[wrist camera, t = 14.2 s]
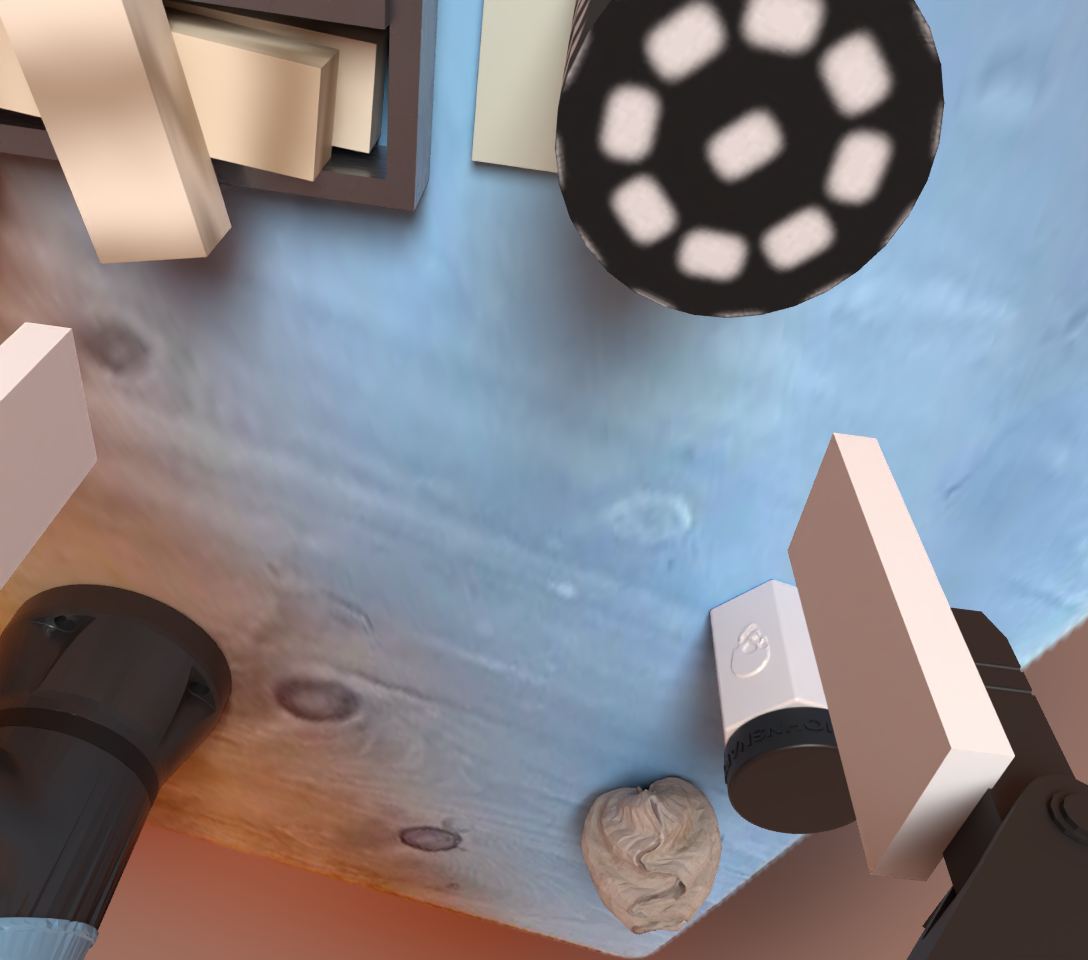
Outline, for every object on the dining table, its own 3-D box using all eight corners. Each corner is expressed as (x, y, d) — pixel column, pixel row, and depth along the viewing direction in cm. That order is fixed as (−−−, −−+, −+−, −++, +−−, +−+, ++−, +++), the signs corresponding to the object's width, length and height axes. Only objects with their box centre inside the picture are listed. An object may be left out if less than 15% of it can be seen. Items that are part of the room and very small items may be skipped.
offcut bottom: (390, 27, 39) (376, 44, 37) (382, 131, 42) (369, 153, 39) (-44, -66, 38) (-88, -55, 36) (-23, 47, 41) (-63, 64, 38)
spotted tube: (728, -197, 33) (840, -180, 17) (831, 15, 36) (1001, 195, 20) (538, -43, 36) (479, 94, 20) (650, 137, 40) (676, 374, 24)
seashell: (755, 759, 67) (774, 890, 59) (664, 858, 76) (670, 985, 68) (627, 719, 65) (629, 850, 57) (549, 826, 74) (541, 952, 66)
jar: (802, 558, 55) (842, 722, 46) (868, 635, 59) (918, 801, 49) (678, 620, 59) (691, 783, 49) (747, 689, 62) (772, 853, 53)
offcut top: (231, 226, 39) (207, 256, 36) (132, 233, 39) (100, 263, 37) (127, -111, 31) (88, -101, 29) (6, -98, 32) (-42, -87, 29)
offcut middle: (339, 49, 37) (320, 68, 35) (330, 157, 40) (313, 181, 37) (-47, -47, 36) (-93, -34, 33) (-29, 71, 38) (-71, 91, 36)
